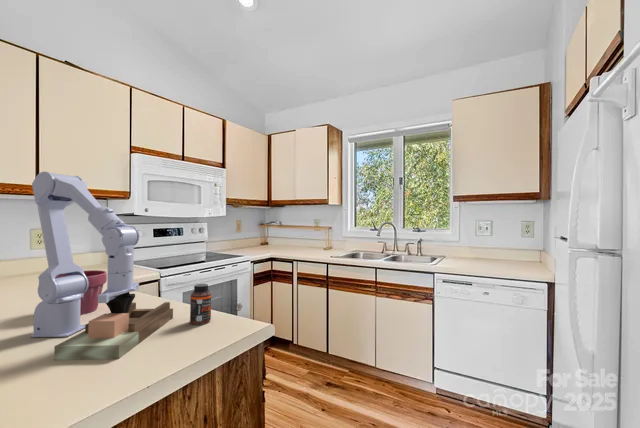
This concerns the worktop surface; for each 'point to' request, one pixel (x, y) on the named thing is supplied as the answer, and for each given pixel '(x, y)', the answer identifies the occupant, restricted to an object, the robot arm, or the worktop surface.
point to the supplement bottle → (200, 304)
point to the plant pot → (92, 290)
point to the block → (108, 325)
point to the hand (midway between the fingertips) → (119, 323)
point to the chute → (115, 348)
